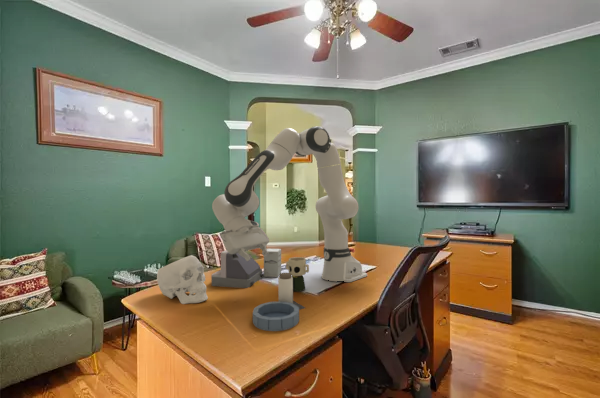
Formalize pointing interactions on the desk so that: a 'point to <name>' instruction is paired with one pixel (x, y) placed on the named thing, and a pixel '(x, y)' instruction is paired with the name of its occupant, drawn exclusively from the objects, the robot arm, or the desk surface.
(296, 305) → the mat
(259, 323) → the bowl
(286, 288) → the salt mill
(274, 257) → the supplement box
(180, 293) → the skull planter
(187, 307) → the desk surface
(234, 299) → the desk surface
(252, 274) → the instant camera
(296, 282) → the character mug
